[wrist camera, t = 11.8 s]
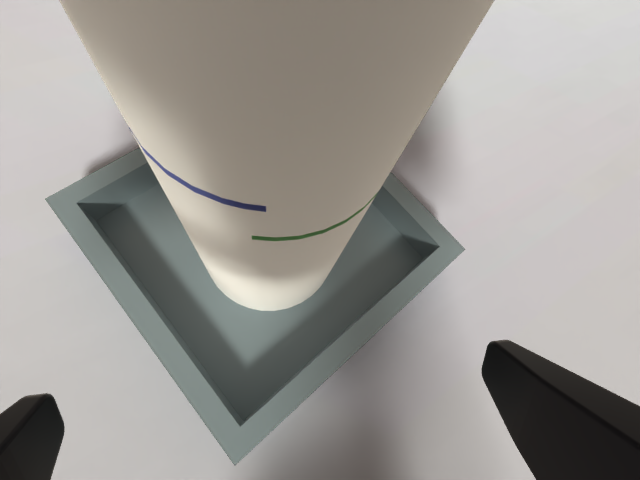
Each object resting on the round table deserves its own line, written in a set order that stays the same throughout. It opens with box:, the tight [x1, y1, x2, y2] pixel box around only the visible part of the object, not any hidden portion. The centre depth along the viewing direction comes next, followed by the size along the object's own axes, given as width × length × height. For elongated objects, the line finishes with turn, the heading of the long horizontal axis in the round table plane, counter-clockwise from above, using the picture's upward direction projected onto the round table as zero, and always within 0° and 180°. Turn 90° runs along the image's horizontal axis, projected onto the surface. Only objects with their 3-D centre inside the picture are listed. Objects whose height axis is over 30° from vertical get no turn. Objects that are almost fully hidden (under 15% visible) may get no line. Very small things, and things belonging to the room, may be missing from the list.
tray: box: [45, 147, 465, 465], centre depth 20 cm, size 15×15×3 cm
